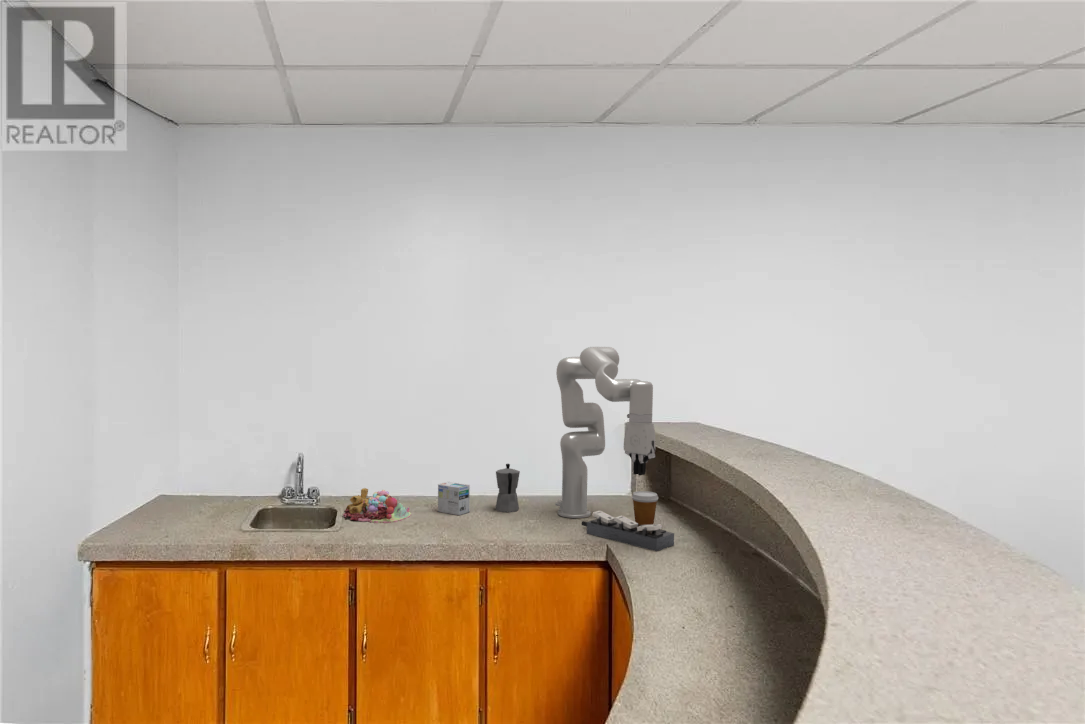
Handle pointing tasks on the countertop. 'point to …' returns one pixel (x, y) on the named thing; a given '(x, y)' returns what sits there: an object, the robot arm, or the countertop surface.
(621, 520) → the rocker
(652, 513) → the disposable coffee cup
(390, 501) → the candy landscape model
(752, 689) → the countertop surface
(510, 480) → the coffeepot
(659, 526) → the rocker
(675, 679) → the countertop surface
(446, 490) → the light bulb box
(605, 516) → the rocker
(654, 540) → the power strip
